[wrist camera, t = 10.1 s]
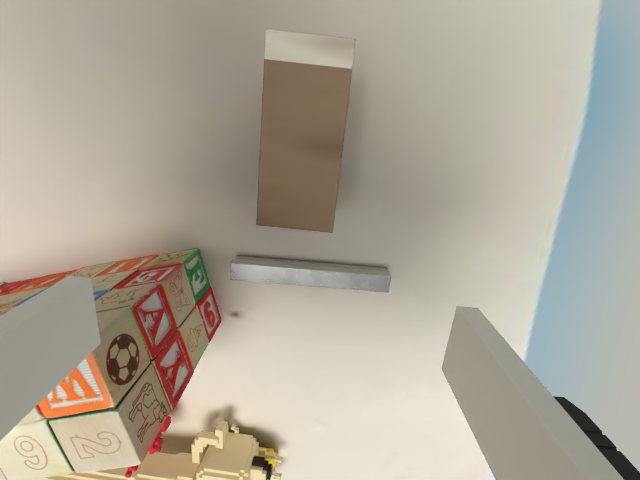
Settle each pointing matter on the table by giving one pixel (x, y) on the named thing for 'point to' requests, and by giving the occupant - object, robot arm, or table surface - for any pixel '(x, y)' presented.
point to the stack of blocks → (116, 367)
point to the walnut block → (302, 128)
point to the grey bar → (310, 273)
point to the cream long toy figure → (197, 460)
